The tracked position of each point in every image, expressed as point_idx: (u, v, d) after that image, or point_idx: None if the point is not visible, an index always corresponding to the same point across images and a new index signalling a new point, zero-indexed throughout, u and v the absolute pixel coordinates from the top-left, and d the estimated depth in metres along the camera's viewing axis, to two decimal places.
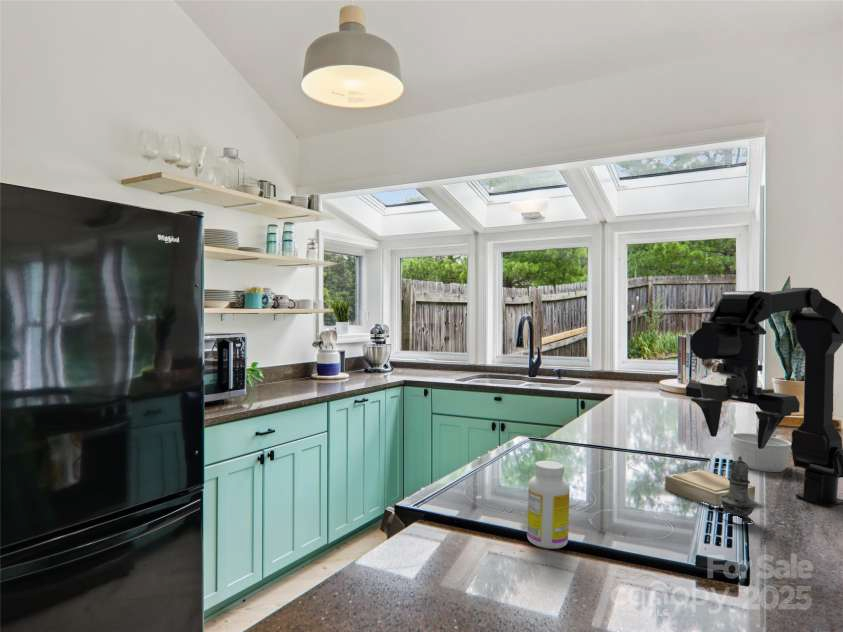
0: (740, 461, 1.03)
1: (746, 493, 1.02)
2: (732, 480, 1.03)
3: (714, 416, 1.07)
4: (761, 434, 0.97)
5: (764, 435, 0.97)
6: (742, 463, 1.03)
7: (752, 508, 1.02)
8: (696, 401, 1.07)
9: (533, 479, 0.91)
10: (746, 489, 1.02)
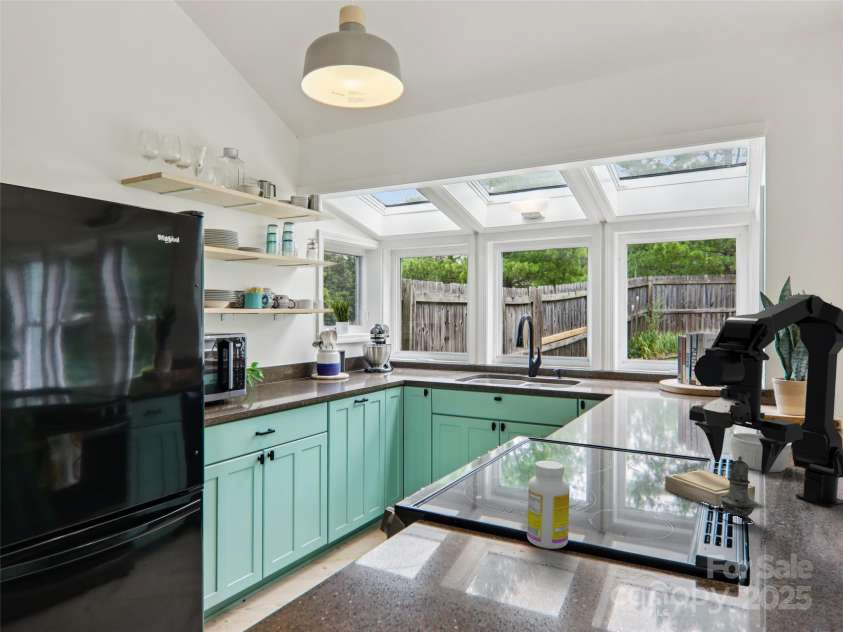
0: (740, 461, 1.03)
1: (746, 493, 1.02)
2: (732, 480, 1.03)
3: (718, 440, 1.08)
4: (765, 460, 0.98)
5: (768, 461, 0.98)
6: (742, 463, 1.03)
7: (752, 508, 1.02)
8: (700, 425, 1.08)
9: (533, 479, 0.91)
10: (746, 489, 1.02)
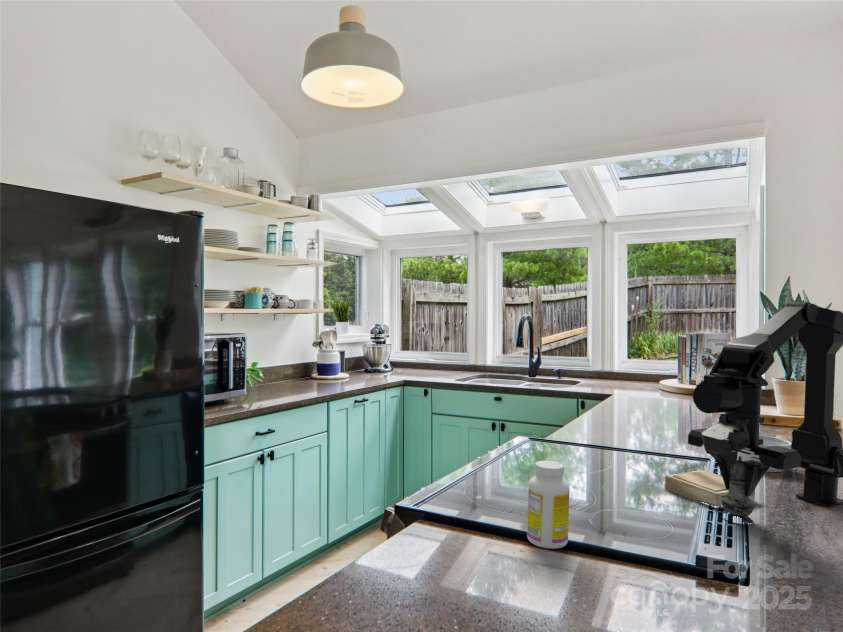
0: (740, 460, 1.03)
1: None
2: (732, 480, 1.03)
3: (729, 469, 1.05)
4: (748, 482, 1.01)
5: (751, 483, 1.01)
6: (742, 463, 1.03)
7: (752, 508, 1.02)
8: (711, 453, 1.06)
9: (533, 479, 0.91)
10: None
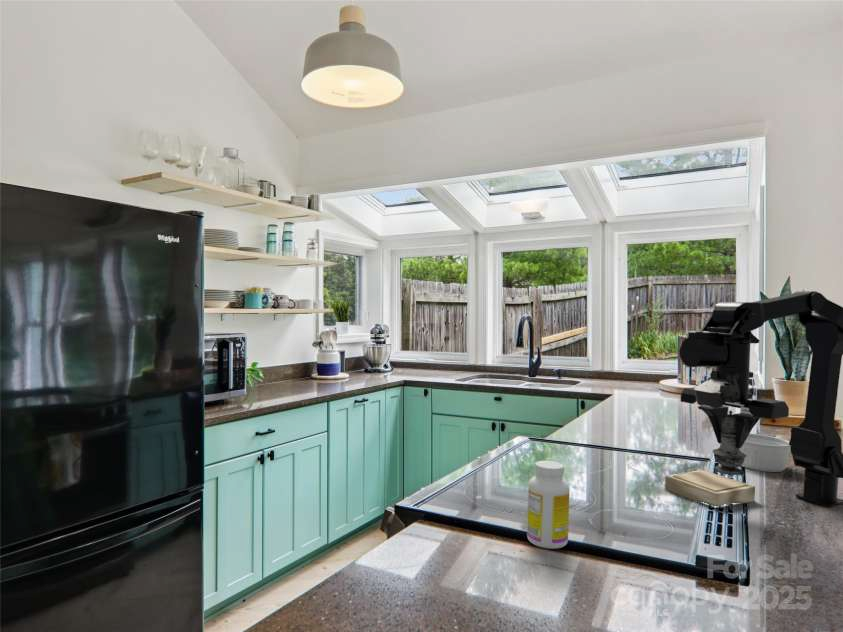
0: (730, 414, 1.08)
1: None
2: (723, 433, 1.08)
3: (721, 424, 1.10)
4: (739, 434, 1.05)
5: (741, 435, 1.05)
6: (733, 417, 1.07)
7: (743, 459, 1.06)
8: (703, 409, 1.10)
9: (533, 479, 0.91)
10: None
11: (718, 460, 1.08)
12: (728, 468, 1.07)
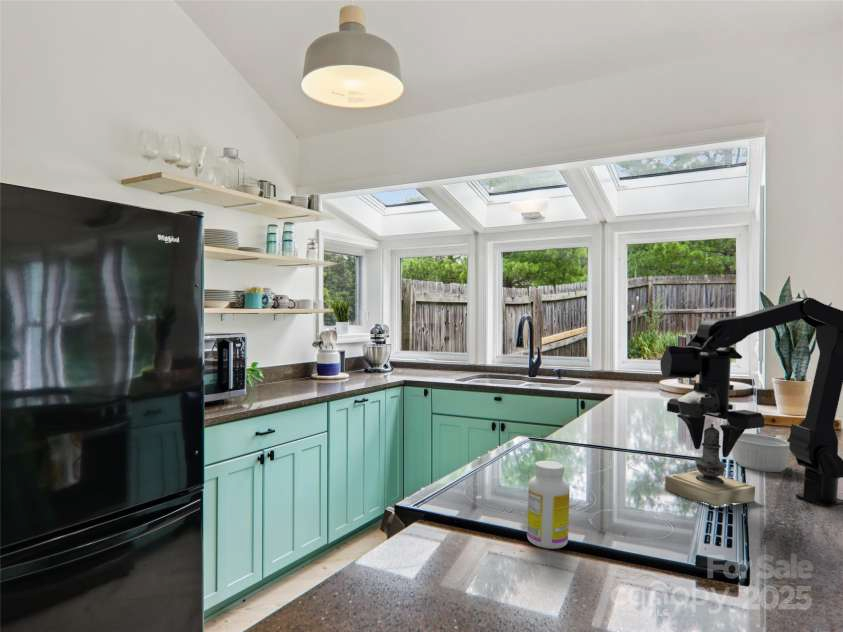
0: (712, 427, 1.16)
1: (717, 456, 1.15)
2: (705, 445, 1.16)
3: (697, 431, 1.19)
4: (725, 444, 1.12)
5: (727, 445, 1.12)
6: (714, 429, 1.15)
7: (722, 469, 1.14)
8: (681, 417, 1.20)
9: (533, 479, 0.91)
10: (717, 452, 1.15)
11: (700, 469, 1.16)
12: (709, 477, 1.16)
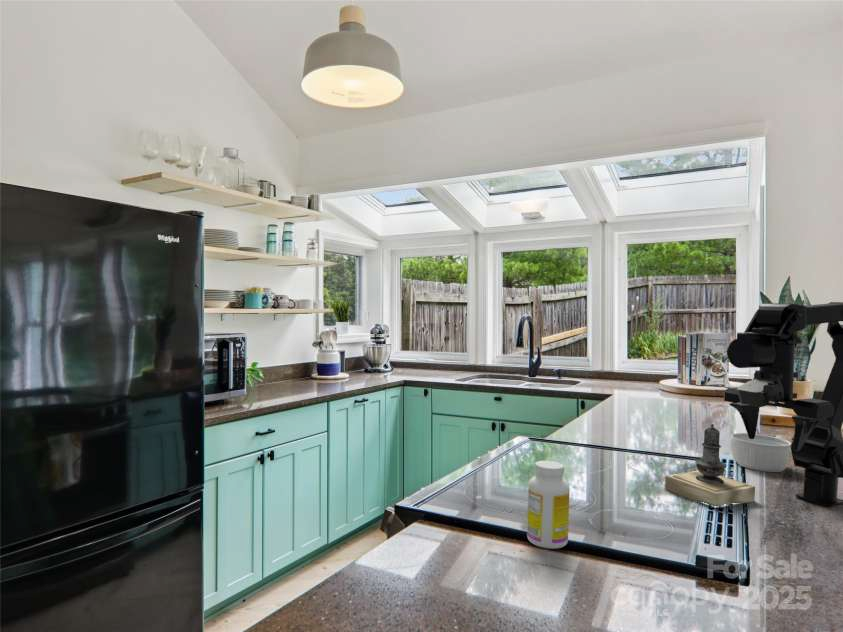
0: (712, 427, 1.16)
1: (717, 456, 1.15)
2: (705, 445, 1.16)
3: (752, 420, 1.14)
4: (797, 437, 1.05)
5: (800, 438, 1.05)
6: (714, 429, 1.15)
7: (722, 469, 1.14)
8: (734, 406, 1.15)
9: (533, 479, 0.91)
10: (717, 452, 1.15)
11: (700, 469, 1.16)
12: (709, 477, 1.16)
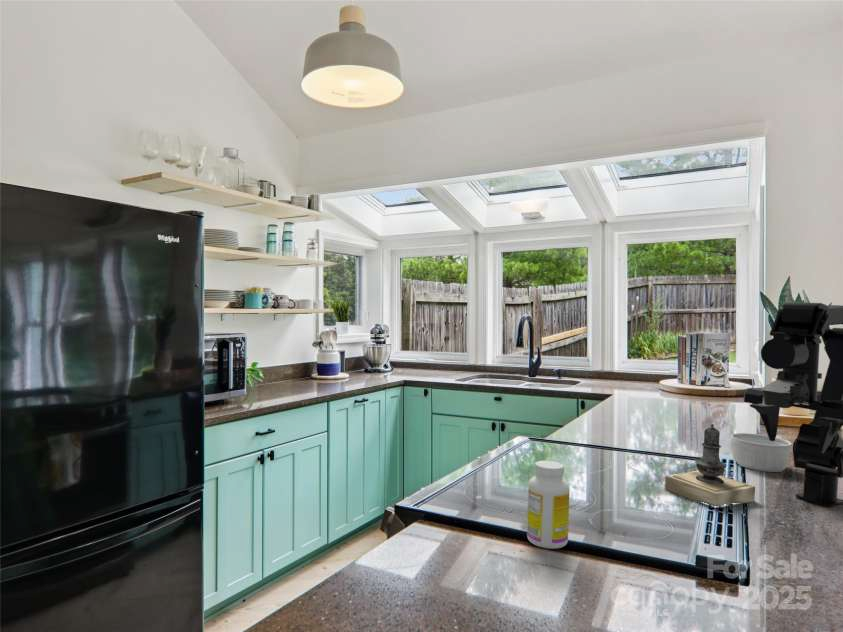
0: (712, 427, 1.16)
1: (717, 456, 1.15)
2: (705, 444, 1.16)
3: (773, 422, 1.12)
4: (823, 439, 1.03)
5: (826, 440, 1.02)
6: (714, 429, 1.15)
7: (722, 469, 1.14)
8: (755, 407, 1.12)
9: (533, 479, 0.91)
10: (717, 452, 1.15)
11: (700, 469, 1.16)
12: (709, 477, 1.16)
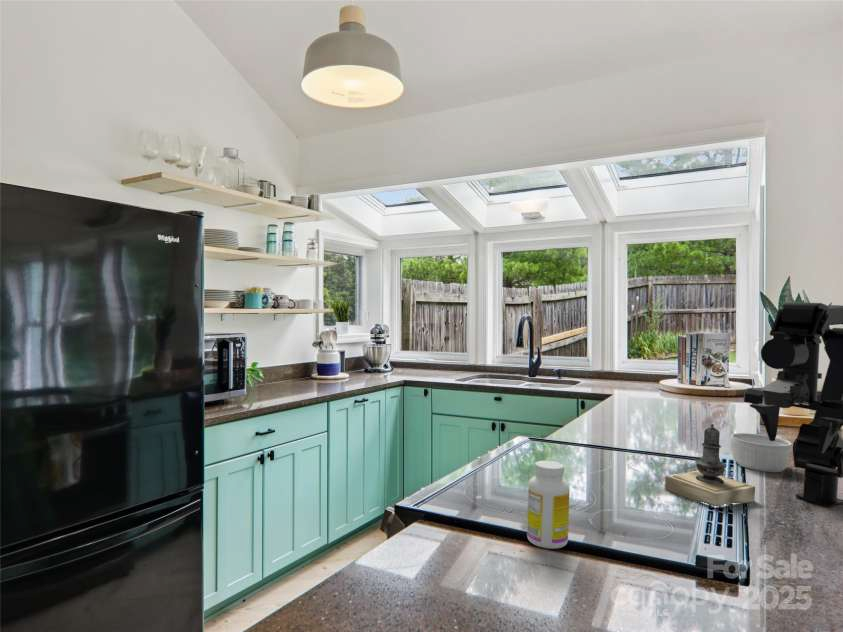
0: (712, 427, 1.16)
1: (717, 456, 1.15)
2: (705, 444, 1.16)
3: (773, 422, 1.12)
4: (823, 439, 1.03)
5: (826, 440, 1.02)
6: (714, 429, 1.15)
7: (722, 469, 1.14)
8: (755, 407, 1.12)
9: (533, 479, 0.91)
10: (717, 452, 1.15)
11: (700, 469, 1.16)
12: (709, 477, 1.16)
